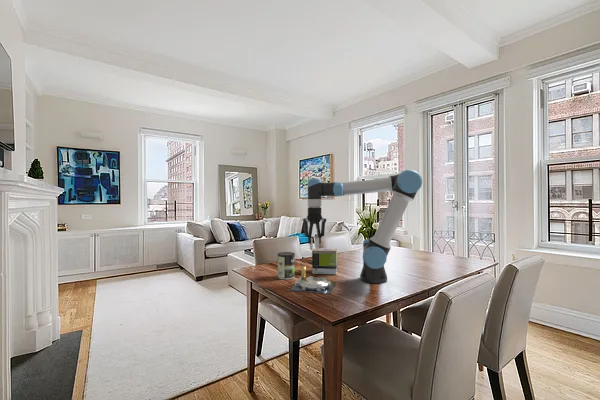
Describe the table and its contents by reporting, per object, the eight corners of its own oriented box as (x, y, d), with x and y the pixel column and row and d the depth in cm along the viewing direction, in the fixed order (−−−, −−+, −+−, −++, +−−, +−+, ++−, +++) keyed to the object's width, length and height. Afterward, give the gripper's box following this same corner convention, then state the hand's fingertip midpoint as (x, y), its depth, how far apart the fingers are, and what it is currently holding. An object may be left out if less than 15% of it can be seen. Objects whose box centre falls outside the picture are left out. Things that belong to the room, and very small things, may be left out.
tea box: (337, 271, 189) (337, 248, 189) (336, 275, 180) (336, 250, 179) (313, 270, 192) (313, 247, 192) (311, 274, 182) (311, 250, 182)
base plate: (336, 282, 164) (336, 281, 164) (330, 294, 144) (330, 293, 144) (300, 279, 170) (300, 278, 170) (289, 290, 150) (289, 289, 149)
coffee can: (296, 275, 179) (296, 252, 179) (292, 280, 169) (292, 255, 168) (280, 274, 181) (280, 251, 181) (275, 279, 171) (275, 254, 170)
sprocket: (309, 277, 171) (309, 262, 171) (340, 283, 159) (340, 267, 159) (287, 286, 154) (287, 269, 154) (321, 293, 143) (321, 275, 142)
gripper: (326, 206, 168) (325, 247, 169) (298, 206, 164) (298, 248, 165) (330, 207, 161) (330, 250, 161) (302, 207, 157) (302, 251, 157)
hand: (314, 249), depth 163 cm, fingers open, 3 cm apart
